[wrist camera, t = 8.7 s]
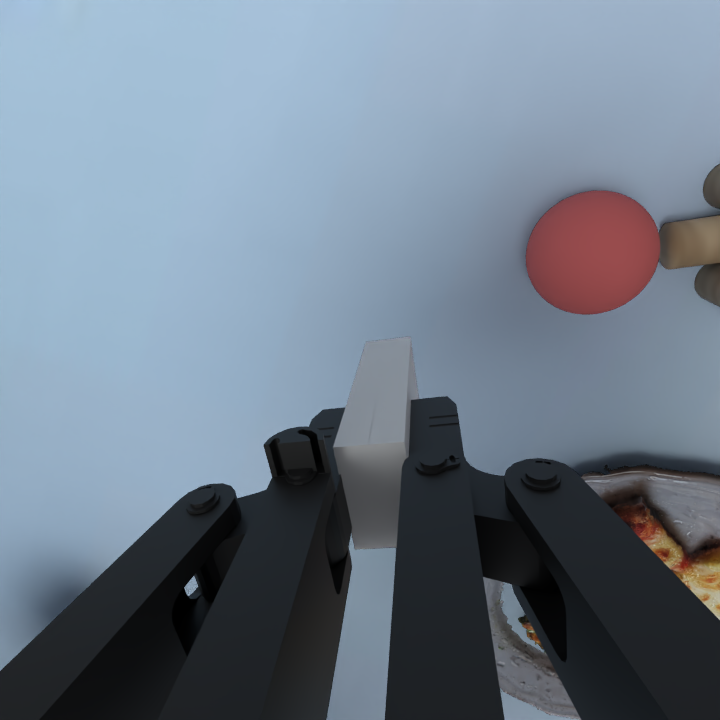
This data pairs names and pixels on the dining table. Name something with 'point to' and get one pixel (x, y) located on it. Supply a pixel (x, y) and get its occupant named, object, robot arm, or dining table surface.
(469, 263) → the dining table surface
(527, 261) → the ball
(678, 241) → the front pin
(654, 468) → the food plate
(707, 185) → the pin
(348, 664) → the dining table surface
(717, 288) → the pin
